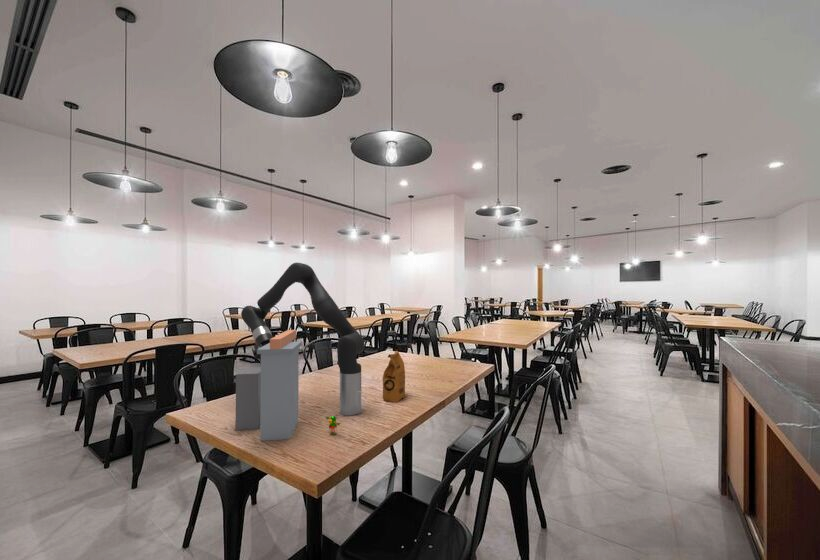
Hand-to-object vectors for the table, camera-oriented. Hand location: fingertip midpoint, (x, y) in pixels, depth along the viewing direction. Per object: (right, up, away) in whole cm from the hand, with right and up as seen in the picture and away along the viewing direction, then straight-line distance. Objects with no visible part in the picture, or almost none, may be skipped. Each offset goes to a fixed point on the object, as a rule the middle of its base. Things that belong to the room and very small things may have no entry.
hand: (274, 365), depth 138 cm
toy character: (+28, -21, -19) cm, 40 cm away
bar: (+8, +12, -11) cm, 18 cm away
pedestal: (+9, -20, -16) cm, 28 cm away
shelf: (-6, -21, -6) cm, 22 cm away
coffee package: (+49, -21, +20) cm, 57 cm away
